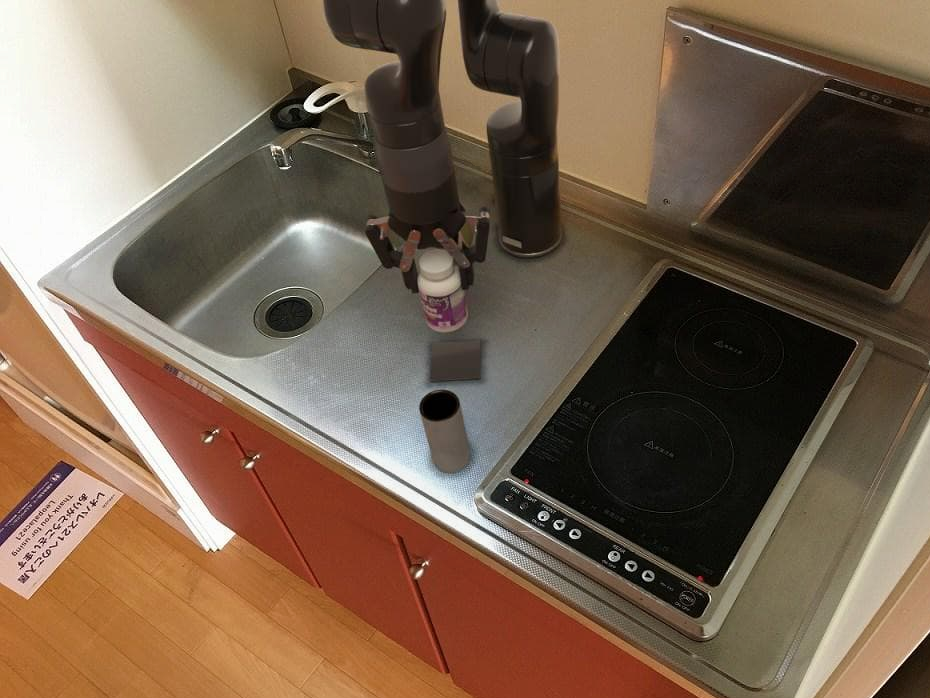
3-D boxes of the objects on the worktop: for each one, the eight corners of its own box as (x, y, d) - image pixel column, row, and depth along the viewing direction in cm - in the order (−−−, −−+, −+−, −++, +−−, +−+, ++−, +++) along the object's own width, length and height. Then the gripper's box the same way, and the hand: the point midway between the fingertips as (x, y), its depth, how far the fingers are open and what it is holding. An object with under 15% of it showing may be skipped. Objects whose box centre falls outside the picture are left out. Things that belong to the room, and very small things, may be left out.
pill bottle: (417, 326, 101) (403, 268, 93) (439, 298, 103) (427, 239, 96) (455, 339, 99) (443, 281, 91) (476, 310, 101) (467, 251, 94)
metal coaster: (432, 345, 110) (432, 343, 109) (480, 342, 109) (480, 340, 109) (430, 382, 105) (429, 380, 105) (480, 379, 105) (480, 377, 105)
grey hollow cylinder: (450, 435, 100) (438, 382, 92) (478, 454, 98) (468, 401, 90) (425, 461, 98) (410, 408, 90) (453, 480, 96) (440, 428, 88)
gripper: (487, 140, 86) (501, 261, 99) (351, 150, 87) (383, 269, 100) (486, 185, 81) (501, 305, 94) (343, 194, 82) (377, 313, 95)
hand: (440, 286), depth 97 cm, fingers closed on pill bottle, 5 cm apart
